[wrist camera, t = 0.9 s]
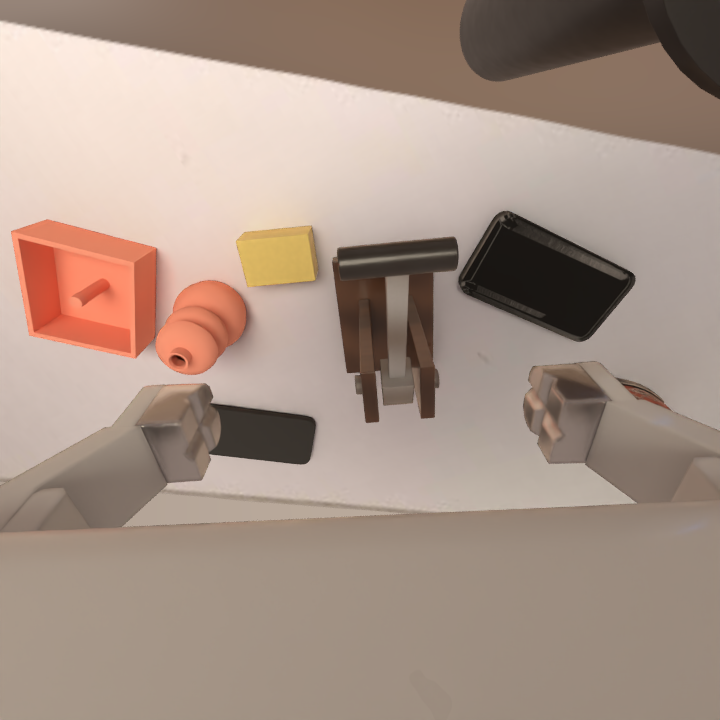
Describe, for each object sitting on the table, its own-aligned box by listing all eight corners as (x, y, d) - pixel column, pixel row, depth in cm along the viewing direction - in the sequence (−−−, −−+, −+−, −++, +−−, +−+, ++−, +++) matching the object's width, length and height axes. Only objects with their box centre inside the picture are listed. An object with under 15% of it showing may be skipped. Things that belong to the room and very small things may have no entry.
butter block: (244, 232, 35) (235, 241, 32) (311, 225, 34) (308, 233, 32) (255, 275, 37) (247, 287, 34) (318, 269, 36) (315, 280, 34)
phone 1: (309, 466, 49) (184, 452, 47) (309, 461, 50) (187, 447, 48) (316, 421, 45) (181, 404, 43) (316, 416, 46) (184, 399, 44)
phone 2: (504, 208, 33) (641, 277, 36) (500, 206, 34) (633, 273, 37) (455, 290, 36) (583, 346, 40) (453, 286, 37) (578, 340, 41)
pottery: (59, 315, 39) (-23, 369, 30) (47, 219, 34) (-54, 252, 25) (243, 357, 41) (214, 417, 33) (255, 273, 37) (226, 319, 28)
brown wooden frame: (332, 257, 36) (322, 325, 24) (431, 248, 36) (468, 312, 24) (347, 366, 42) (344, 462, 30) (430, 359, 42) (460, 453, 30)
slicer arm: (336, 234, 19) (337, 271, 17) (452, 223, 18) (462, 259, 17) (359, 379, 31) (361, 407, 29) (430, 373, 30) (435, 401, 29)
